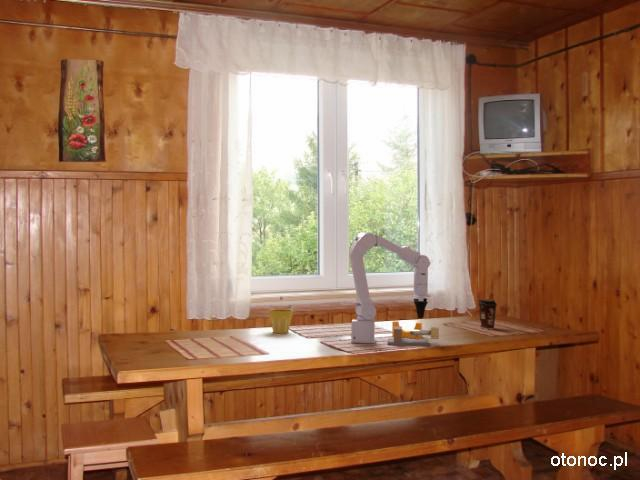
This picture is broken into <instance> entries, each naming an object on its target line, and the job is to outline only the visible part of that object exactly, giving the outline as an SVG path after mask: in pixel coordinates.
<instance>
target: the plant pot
mask: <svg viewBox="0 0 640 480" xmlns="http://www.w3.org/2000/svg"><path fill="white" fill-rule="evenodd" d="M268 316H269V317H268V318H269V319H270V322H271V327H272V332H273V333H274V334H288V333H289V330H290V326H291V322H292V319H293V318H294V317H293V316H294V310H293V309H290V308H272V309H269V313H268Z"/></svg>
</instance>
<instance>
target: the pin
mask: <svg viewBox="0 0 640 480" xmlns="http://www.w3.org/2000/svg"><path fill="white" fill-rule="evenodd" d="M409 331H410V335H423V336H430V339H431V340H439V338H440V337H439V335H440V333H439V331H440V328H439V326H430V330H429V329H428V330H426V329H422V330H413V329H410V330H409Z"/></svg>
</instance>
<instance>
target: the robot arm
mask: <svg viewBox="0 0 640 480" xmlns="http://www.w3.org/2000/svg"><path fill="white" fill-rule="evenodd" d="M374 247H381V248H383V249H385V250H387V251H390V252H392V253H394V254H396V256H397V258H398V259H399V260H401V261H403V262H405V263H407V264H409V265H412V267H413V295H412V297H414V298H413V304H414V306H415V308H416V315H417V319H424V316H425V312H426V307H427V304H428V303H429V302H428V297H431V294H429V291H428V290H429V287H428V286H429V272H428V271H429V267H430V266H431V261H430V258H429V257H428V255H425V254H421V251H415V250H413V249H412V248H411V246H410V245H403V246H399V245H397V244H396V243H394V242H392V241H390V240H388V239H387V238H385V237H383V236H380V235H378V234H374V233H373V232H364V231H362V232H359V233H357V235H355V237H354V238H353V242H352V245H351V247H350V250H349V253H348V254H349V259H350V266H351V271H352V276H353V282H354V287H355V292H356V300H355V303H356V305H355V309H354V310H355V313H356V315H357V317H356V319H352V320H351V329H350V330H351V332H350V340H351V341H350V342H351V343H357V344H358V343H360V344H361V343H362V344H364V343H365V344H375V343H376V342H377V341H376V340H377V339H376V338H375V329H376V328H375V326H376V325H375V324H376V323H375V317H376V315H377V309H376V307H375V305H374V303H373V300H372V297H371V296H370V291H369V286H368V285H369V284H368V279H367V274H366V269H365V268H366V267H365V264H364V258H363V257H364V256H365V255H366V254H367V253H368V251H369V250H371V249H373V248H374Z"/></svg>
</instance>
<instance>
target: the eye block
mask: <svg viewBox="0 0 640 480" xmlns="http://www.w3.org/2000/svg"><path fill="white" fill-rule="evenodd" d="M402 327H403V326H400V325H399V326H394V337H393V338H387V342H386V343H387V346H412V345H413V347H414V346H417V347H418V346H419V347H420V346H421V347H423V346H425V347H429V345H430V343H429V339H428V338H427V339H423V338H403V337H402V329H403V328H402Z"/></svg>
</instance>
